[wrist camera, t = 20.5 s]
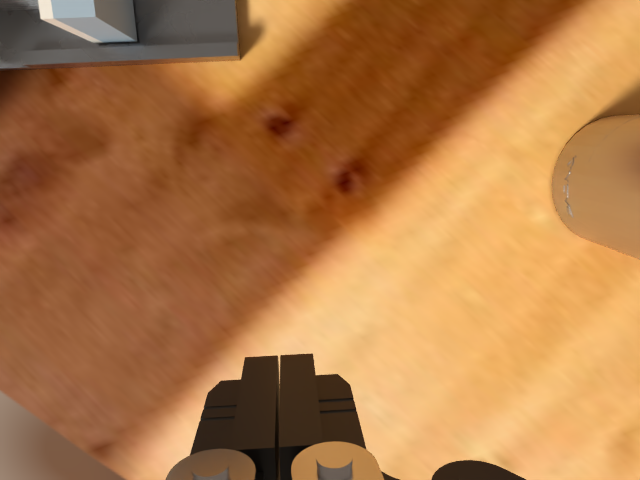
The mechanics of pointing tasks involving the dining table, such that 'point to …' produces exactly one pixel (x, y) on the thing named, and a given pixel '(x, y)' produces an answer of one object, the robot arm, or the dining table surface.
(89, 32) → the block
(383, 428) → the dining table surface
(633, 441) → the dining table surface
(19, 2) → the steel block
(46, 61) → the vise
